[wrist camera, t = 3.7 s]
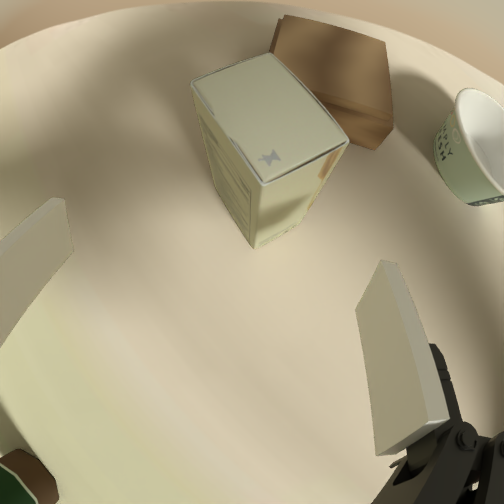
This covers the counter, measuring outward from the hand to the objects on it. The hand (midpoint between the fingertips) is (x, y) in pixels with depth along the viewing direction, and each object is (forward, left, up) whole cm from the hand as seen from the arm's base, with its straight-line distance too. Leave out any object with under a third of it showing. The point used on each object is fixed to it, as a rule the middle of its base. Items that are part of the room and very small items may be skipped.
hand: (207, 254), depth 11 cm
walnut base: (-5, -19, -11) cm, 22 cm away
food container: (-22, -16, -11) cm, 30 cm away
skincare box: (-1, -6, -11) cm, 13 cm away
